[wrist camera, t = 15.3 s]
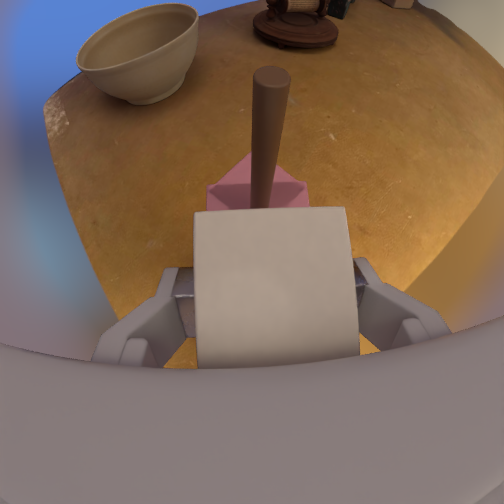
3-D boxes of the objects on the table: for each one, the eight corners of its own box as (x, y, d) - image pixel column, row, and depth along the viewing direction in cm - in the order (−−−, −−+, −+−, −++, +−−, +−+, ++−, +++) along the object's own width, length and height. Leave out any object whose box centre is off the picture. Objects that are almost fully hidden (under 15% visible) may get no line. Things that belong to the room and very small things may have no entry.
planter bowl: (103, 79, 34) (80, 34, 23) (193, 44, 35) (184, -6, 25) (107, 142, 30) (69, 90, 20) (221, 98, 32) (213, 32, 21)
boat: (309, 380, 14) (421, 480, 3) (221, 386, 14) (166, 515, 3) (292, 176, 16) (337, 19, 6) (214, 179, 16) (179, 18, 6)
